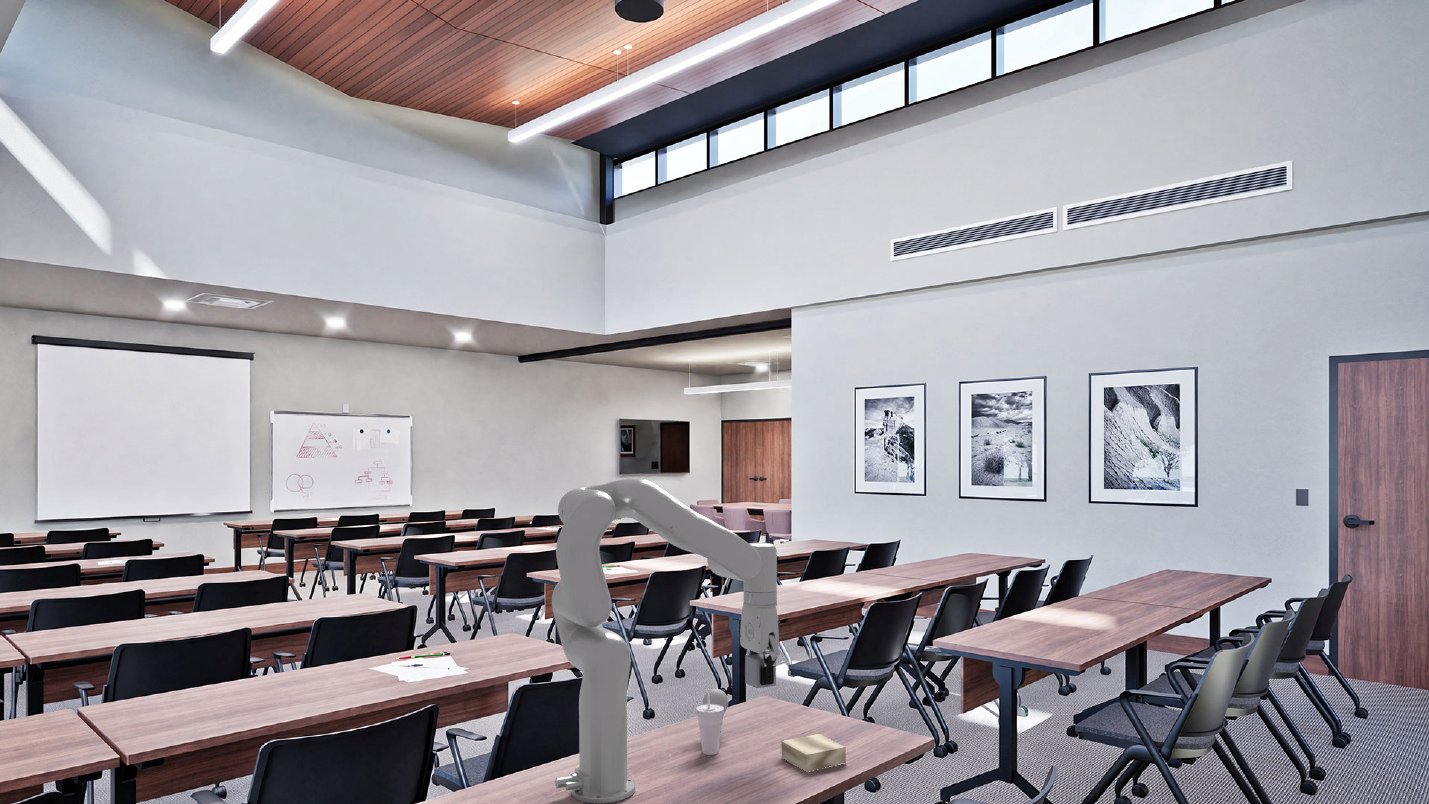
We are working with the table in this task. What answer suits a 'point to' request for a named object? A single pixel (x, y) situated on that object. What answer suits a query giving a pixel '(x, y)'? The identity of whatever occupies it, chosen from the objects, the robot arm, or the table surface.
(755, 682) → the grey block
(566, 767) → the table surface
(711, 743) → the smoothie
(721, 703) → the lightbulb
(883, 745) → the table surface
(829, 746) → the maple block
